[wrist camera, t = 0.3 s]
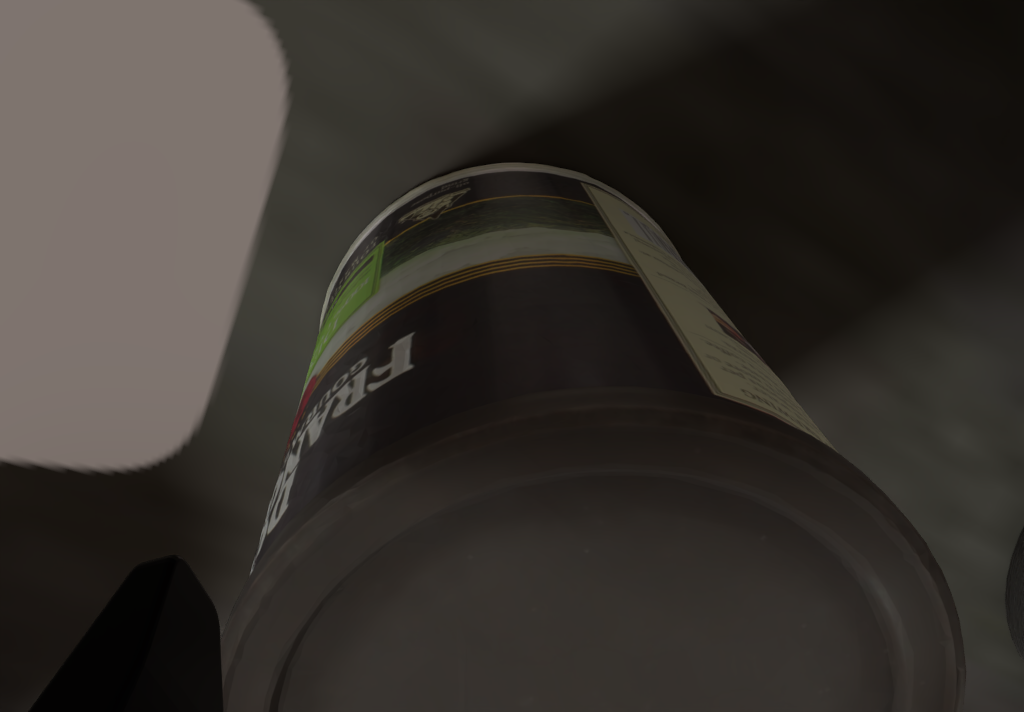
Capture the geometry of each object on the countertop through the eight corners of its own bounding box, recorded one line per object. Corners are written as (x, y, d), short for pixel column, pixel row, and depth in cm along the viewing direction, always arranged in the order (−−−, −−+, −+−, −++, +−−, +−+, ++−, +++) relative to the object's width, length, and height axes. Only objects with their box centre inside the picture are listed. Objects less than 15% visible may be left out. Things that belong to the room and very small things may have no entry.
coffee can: (269, 453, 26) (113, 937, 13) (395, 97, 23) (350, 282, 10) (606, 558, 29) (751, 1058, 16) (767, 246, 25) (1124, 555, 12)
